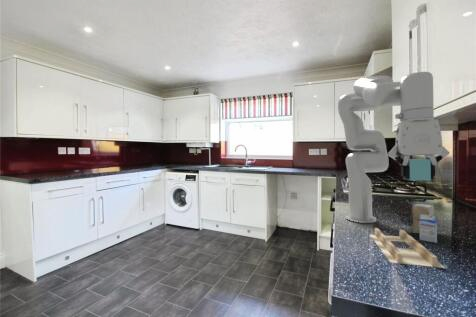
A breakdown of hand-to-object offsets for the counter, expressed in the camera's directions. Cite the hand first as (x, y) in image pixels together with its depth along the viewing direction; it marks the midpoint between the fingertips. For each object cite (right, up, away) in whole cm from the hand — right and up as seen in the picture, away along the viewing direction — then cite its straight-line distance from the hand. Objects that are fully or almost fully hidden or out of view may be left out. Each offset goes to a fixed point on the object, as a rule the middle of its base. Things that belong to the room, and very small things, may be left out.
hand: (417, 178), depth 65 cm
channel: (-3, -23, +3) cm, 24 cm away
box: (+17, -23, +18) cm, 34 cm away
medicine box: (+13, -23, +11) cm, 29 cm away
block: (+1, +3, +3) cm, 4 cm away
